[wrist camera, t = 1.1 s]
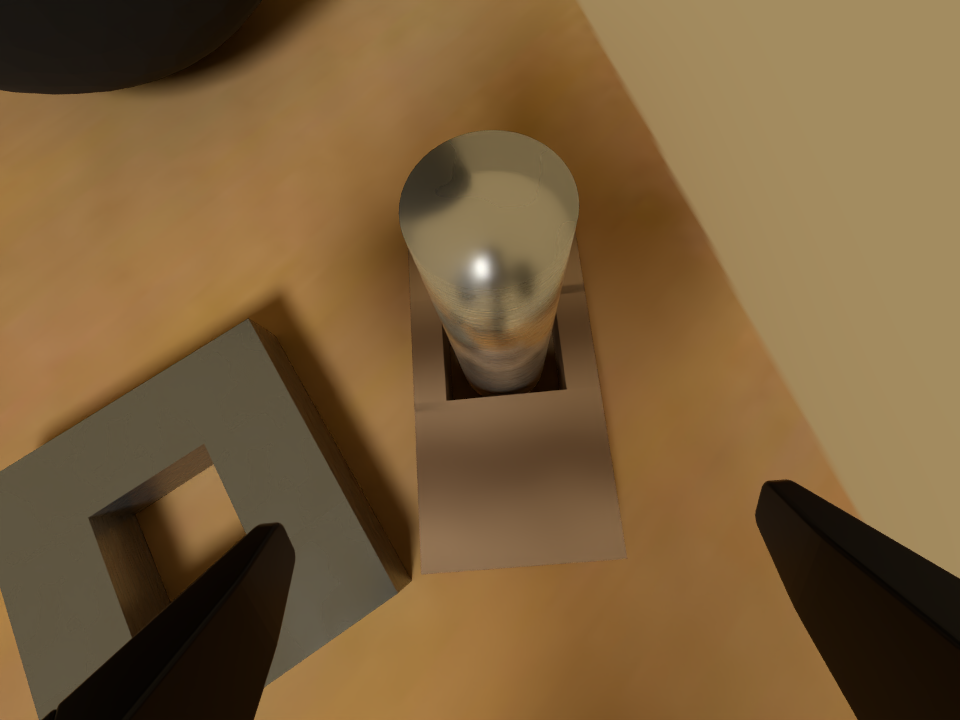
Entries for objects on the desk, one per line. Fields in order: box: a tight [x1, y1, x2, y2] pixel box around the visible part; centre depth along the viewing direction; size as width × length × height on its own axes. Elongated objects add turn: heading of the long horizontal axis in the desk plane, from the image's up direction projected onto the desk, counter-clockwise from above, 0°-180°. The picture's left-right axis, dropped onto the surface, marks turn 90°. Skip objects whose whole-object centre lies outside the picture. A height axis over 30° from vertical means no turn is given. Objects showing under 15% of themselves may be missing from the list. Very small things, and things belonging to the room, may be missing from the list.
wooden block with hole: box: [408, 232, 627, 574], centre depth 21 cm, size 18×8×2 cm, turn 5°
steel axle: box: [399, 130, 579, 397], centre depth 16 cm, size 4×4×13 cm
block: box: [0, 319, 412, 720], centre depth 20 cm, size 14×14×2 cm
